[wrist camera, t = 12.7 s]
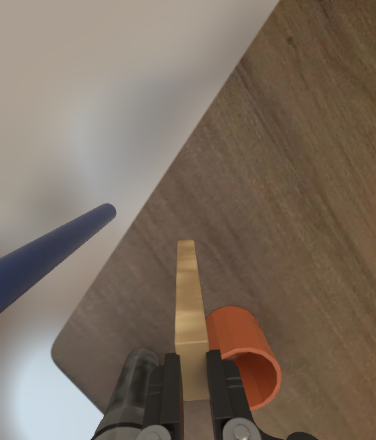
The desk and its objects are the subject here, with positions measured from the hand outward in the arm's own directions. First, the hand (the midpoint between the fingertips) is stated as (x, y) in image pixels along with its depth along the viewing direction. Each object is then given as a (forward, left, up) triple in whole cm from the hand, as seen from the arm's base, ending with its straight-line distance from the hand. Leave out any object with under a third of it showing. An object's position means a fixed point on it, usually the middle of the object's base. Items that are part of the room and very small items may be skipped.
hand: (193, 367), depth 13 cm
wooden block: (0, +1, -14) cm, 14 cm away
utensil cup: (+5, -13, -20) cm, 24 cm away
